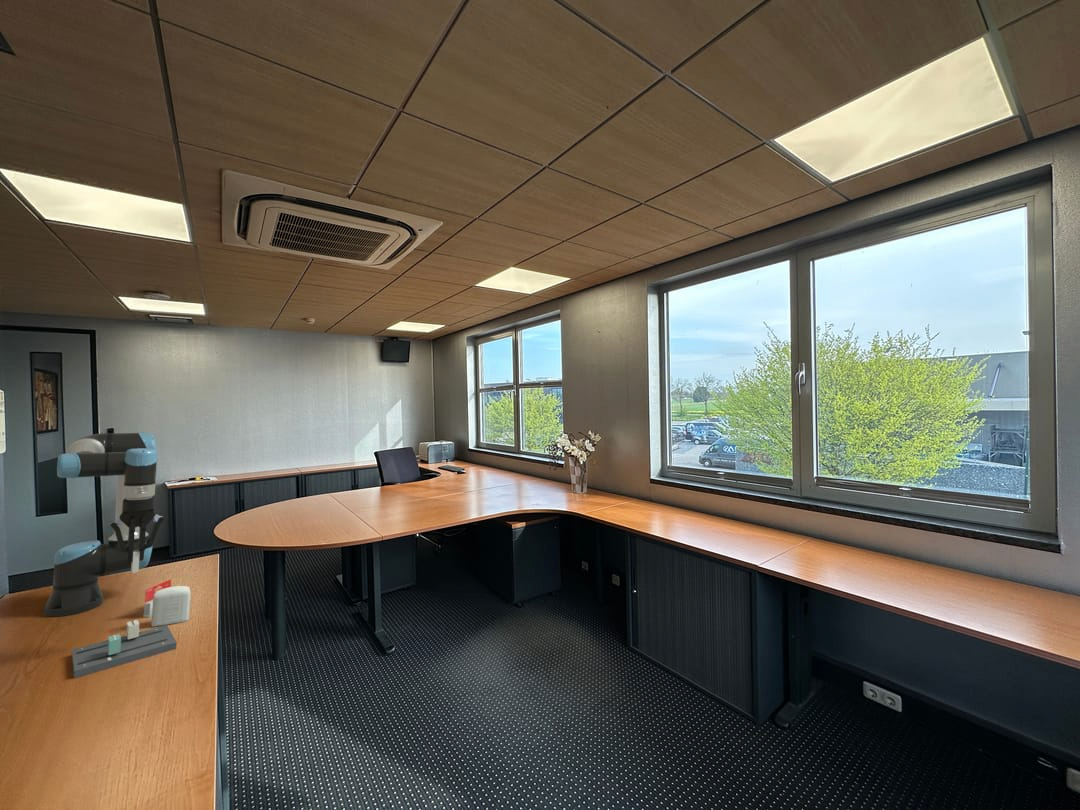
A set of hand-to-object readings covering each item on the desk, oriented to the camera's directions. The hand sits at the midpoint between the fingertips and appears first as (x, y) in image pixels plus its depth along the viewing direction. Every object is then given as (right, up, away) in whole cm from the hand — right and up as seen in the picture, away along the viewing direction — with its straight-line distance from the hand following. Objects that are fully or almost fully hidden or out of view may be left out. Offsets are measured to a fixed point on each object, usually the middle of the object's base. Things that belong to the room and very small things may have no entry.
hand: (134, 571), depth 139 cm
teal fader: (+2, -21, -9) cm, 23 cm away
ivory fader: (0, -21, 0) cm, 21 cm away
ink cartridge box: (-12, -24, +23) cm, 35 cm away
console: (+1, -23, -5) cm, 24 cm away
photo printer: (-1, -24, +15) cm, 28 cm away
